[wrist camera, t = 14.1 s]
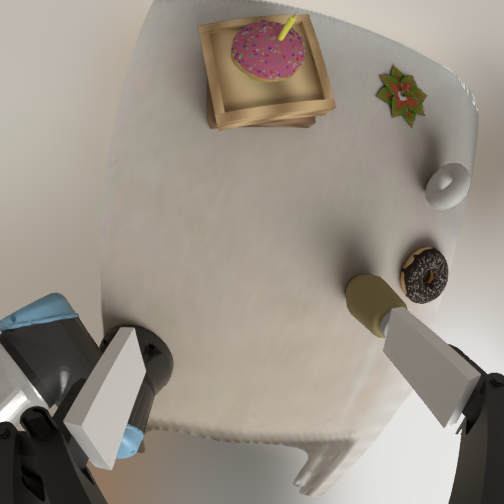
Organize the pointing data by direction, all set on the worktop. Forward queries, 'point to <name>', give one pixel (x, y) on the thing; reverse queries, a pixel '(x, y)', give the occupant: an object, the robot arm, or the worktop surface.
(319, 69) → the tower top
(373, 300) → the squeeze bottle
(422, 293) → the donut
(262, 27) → the cupcake
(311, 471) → the worktop surface
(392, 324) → the robot arm
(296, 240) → the worktop surface
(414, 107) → the lily flower
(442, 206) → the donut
